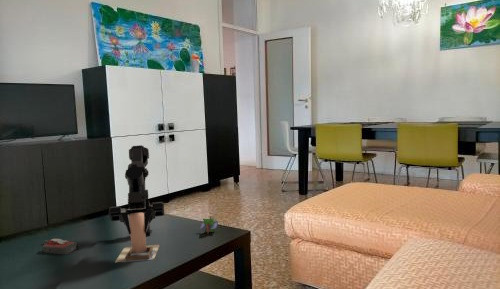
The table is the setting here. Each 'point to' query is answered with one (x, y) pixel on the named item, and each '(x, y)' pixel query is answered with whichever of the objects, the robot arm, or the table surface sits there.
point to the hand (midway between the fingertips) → (137, 233)
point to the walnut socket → (139, 257)
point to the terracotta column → (137, 232)
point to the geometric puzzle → (209, 225)
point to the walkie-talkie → (59, 246)
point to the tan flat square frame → (126, 250)
